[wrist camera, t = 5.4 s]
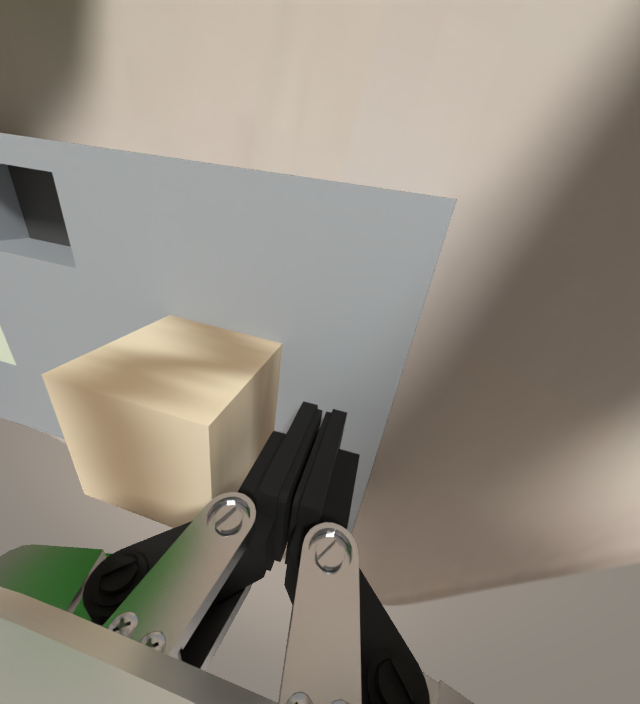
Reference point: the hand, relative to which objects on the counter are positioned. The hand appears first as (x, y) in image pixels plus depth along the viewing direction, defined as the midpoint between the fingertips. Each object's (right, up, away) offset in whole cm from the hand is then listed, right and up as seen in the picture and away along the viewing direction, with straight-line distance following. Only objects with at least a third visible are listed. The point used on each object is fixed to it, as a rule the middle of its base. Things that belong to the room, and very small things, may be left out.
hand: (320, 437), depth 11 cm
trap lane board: (-9, +5, +5) cm, 12 cm away
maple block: (-4, +2, +2) cm, 5 cm away
